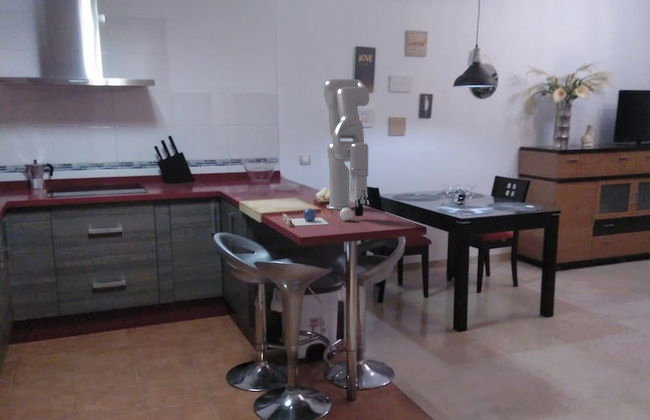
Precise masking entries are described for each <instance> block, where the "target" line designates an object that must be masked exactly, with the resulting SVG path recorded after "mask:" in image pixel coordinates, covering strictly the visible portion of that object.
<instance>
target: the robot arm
mask: <svg viewBox="0 0 650 420" xmlns="http://www.w3.org/2000/svg"><path fill="white" fill-rule="evenodd" d="M323 85H324V86H323V96H324V99H325V103H326V105H327V109H328V122H329V123H328V125H329V135H330V137H331V138H332V142H331V143H329V144H328V146H327V158H328V165H329V166H328V167H329V169H328V171H329V204H326V209H329V210H334V211H335V210H337V211H338V210H339V211H341V210H342V209H343V208H350V209H351V210H352V209H353V205H352V204H351V203H350V199H352V200H353V201H354V216H356V217H363V216H364V204H365V201H366V200H368V199H367V198H368V181H367V179H368V178H367V177H369V145H368V143H366V142H365V137H364V135H365V134H364V131H365V130H364V125H363V122H362V120H360V116H359V115H360V114H359V109H358V107H366V106H367V105H368V104H369V102H370V93H369V90H368V88H367V86H366V85H365V84H364V83H363V82H362V81H361V80H360V79H355V78H353V79H351V78H348V79H346V78H341V79H340V78H333V79H328V80H326V82H324V84H323ZM341 139H344V140H343V141H342V140H341ZM345 139H346V140H347V139H352V140H351V141H350V140H347V141H346V140H345ZM348 162H349V163H350V164H349V165H350V166H349V168H348V166H347V165H346V163H348ZM349 169H350V170H349Z"/></svg>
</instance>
